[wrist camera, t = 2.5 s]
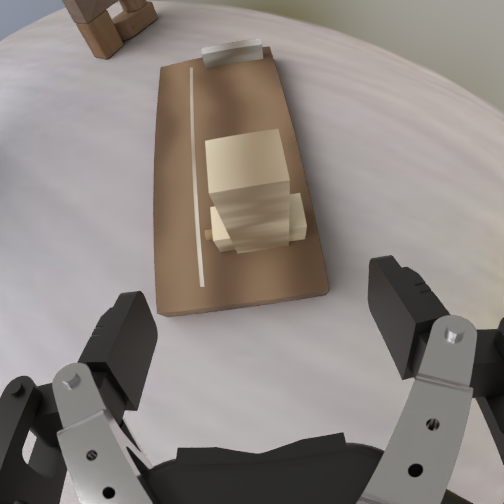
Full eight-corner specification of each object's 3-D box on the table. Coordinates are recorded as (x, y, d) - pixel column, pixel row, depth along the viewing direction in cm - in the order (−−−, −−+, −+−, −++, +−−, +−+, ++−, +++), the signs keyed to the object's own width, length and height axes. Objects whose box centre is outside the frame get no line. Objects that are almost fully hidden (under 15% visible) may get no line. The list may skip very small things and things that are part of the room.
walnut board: (166, 316, 24) (145, 309, 20) (165, 79, 32) (155, 54, 28) (325, 294, 23) (333, 283, 19) (270, 59, 31) (268, 32, 27)
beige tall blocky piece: (209, 257, 23) (166, 201, 14) (206, 219, 24) (166, 149, 15) (305, 243, 22) (316, 176, 14) (298, 204, 23) (302, 125, 15)
